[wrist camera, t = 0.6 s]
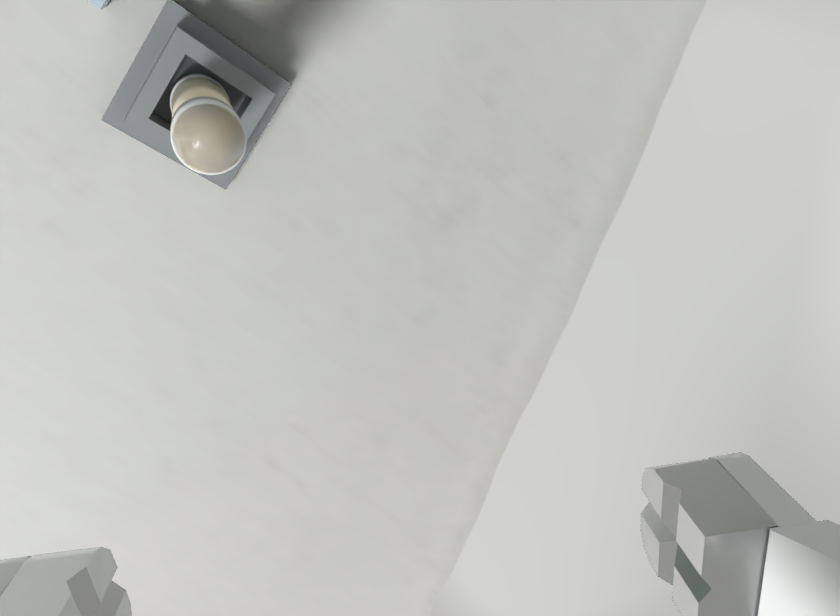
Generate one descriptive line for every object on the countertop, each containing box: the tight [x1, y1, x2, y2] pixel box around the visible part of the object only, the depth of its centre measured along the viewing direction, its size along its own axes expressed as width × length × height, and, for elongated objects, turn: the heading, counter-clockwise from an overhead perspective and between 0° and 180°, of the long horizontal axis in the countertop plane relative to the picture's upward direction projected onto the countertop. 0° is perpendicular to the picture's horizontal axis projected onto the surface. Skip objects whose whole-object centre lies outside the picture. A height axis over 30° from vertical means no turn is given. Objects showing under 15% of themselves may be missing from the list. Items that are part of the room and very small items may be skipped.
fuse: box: [170, 72, 247, 175], centre depth 41 cm, size 4×4×13 cm
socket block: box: [102, 0, 291, 190], centre depth 45 cm, size 10×10×4 cm
